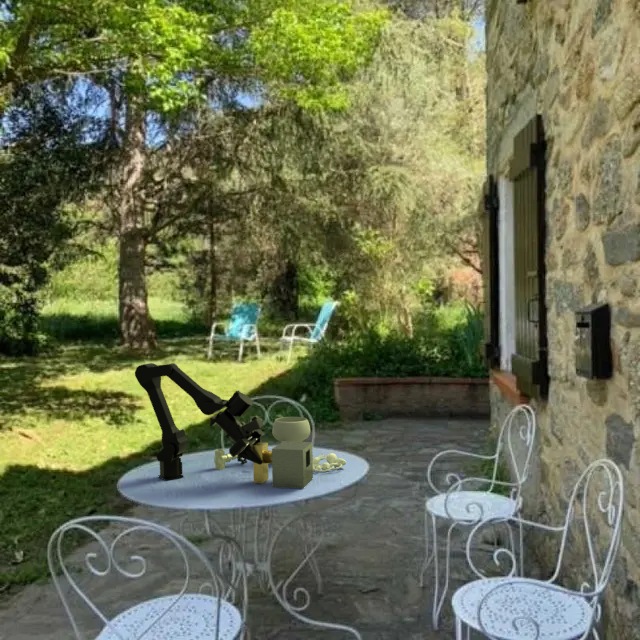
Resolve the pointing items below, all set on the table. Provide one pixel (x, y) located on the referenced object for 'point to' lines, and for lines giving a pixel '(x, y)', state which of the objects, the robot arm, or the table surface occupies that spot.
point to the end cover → (262, 469)
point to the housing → (292, 464)
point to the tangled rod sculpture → (330, 459)
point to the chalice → (291, 429)
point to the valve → (225, 459)
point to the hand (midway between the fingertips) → (264, 461)
